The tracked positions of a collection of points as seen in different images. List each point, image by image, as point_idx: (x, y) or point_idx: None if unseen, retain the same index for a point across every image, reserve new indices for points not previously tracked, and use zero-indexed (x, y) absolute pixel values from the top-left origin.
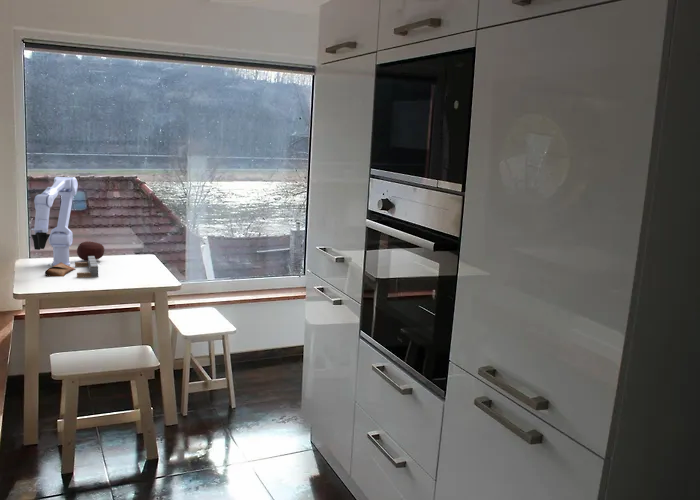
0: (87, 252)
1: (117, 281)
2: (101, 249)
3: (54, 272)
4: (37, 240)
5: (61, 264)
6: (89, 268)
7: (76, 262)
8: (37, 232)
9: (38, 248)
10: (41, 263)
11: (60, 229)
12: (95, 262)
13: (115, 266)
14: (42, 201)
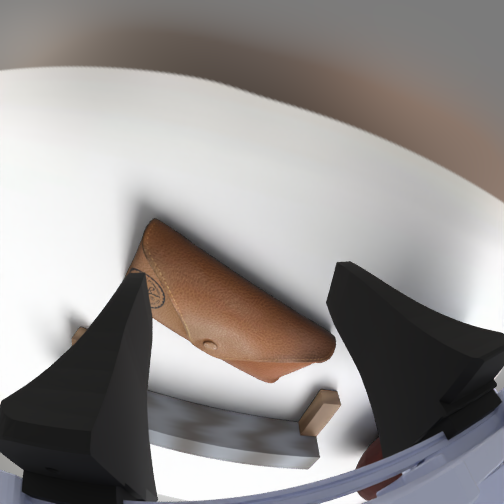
0: (374, 461)
1: (22, 384)
2: (357, 491)
3: (133, 268)
4: (389, 357)
5: (249, 349)
6: (207, 414)
7: (334, 408)
8: (477, 438)
9: (333, 300)
10: (479, 292)
11: (483, 492)
12: (150, 441)
13: (251, 465)
14: None
